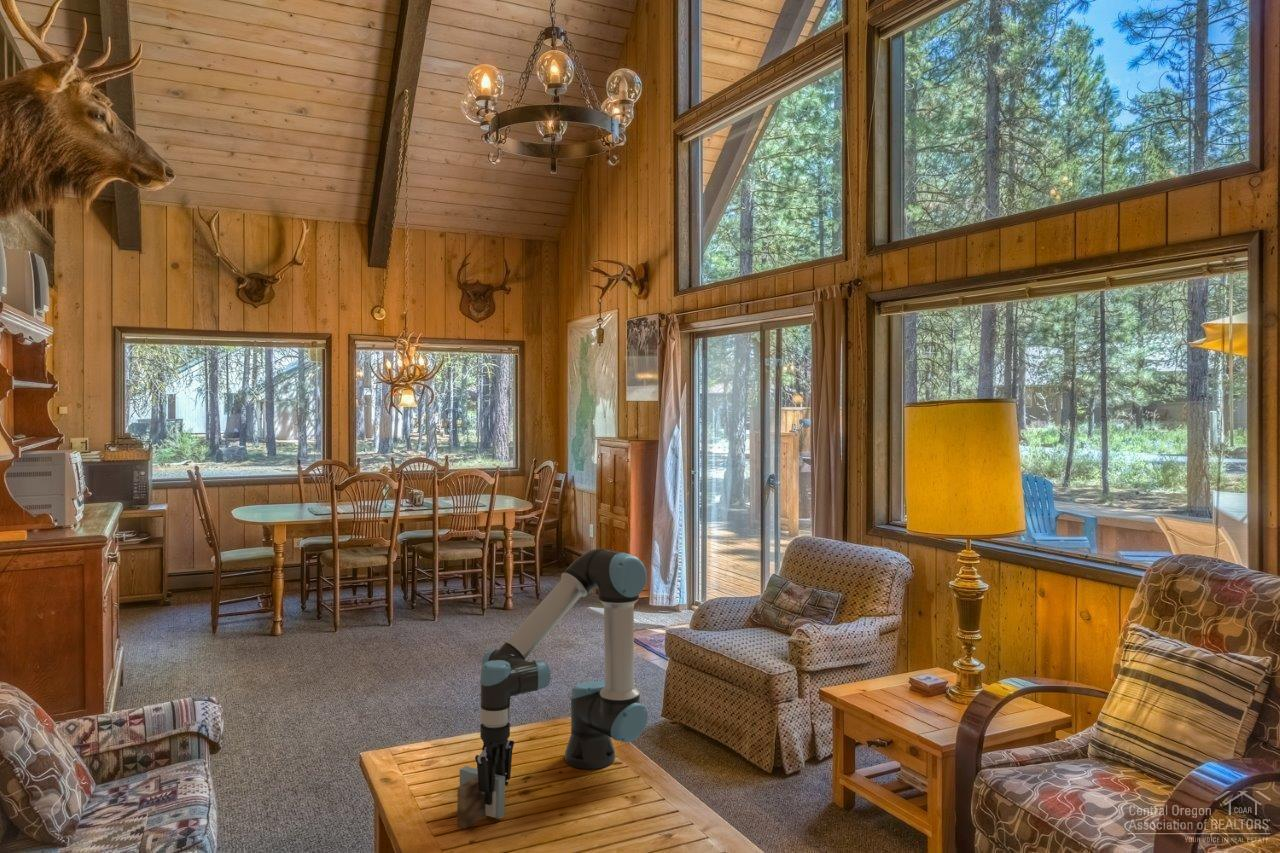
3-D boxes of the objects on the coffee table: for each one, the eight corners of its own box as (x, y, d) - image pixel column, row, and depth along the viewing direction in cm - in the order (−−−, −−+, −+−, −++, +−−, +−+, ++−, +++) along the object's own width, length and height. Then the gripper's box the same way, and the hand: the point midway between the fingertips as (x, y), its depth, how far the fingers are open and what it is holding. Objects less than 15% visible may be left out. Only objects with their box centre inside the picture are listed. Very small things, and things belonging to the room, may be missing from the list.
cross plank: (465, 803, 224) (465, 765, 224) (504, 814, 218) (504, 776, 218) (459, 807, 222) (459, 769, 222) (498, 818, 216) (498, 780, 216)
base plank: (497, 801, 228) (497, 764, 227) (504, 803, 226) (504, 766, 226) (457, 826, 214) (457, 787, 213) (464, 828, 212) (465, 789, 212)
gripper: (502, 710, 226) (502, 797, 227) (463, 729, 212) (463, 822, 213) (525, 715, 222) (524, 804, 223) (487, 735, 209) (486, 829, 209)
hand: (494, 812), depth 218 cm, fingers closed on cross plank, 2 cm apart
